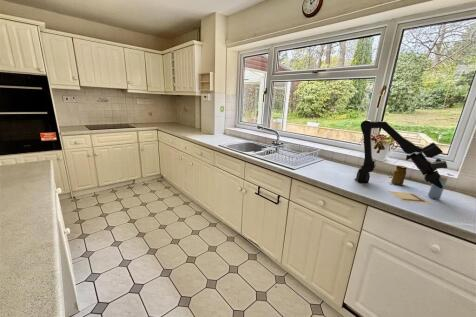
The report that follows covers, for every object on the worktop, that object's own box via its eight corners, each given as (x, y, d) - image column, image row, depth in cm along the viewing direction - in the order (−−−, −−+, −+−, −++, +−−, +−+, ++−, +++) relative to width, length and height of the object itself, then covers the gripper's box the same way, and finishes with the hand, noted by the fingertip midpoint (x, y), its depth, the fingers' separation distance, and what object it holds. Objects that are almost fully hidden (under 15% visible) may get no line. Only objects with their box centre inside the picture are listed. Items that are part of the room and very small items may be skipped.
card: (403, 202, 108) (403, 201, 108) (387, 191, 120) (387, 191, 120) (433, 205, 107) (433, 204, 107) (414, 194, 120) (414, 193, 119)
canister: (435, 199, 111) (443, 178, 108) (425, 194, 116) (432, 174, 112) (442, 198, 112) (450, 178, 109) (432, 194, 117) (439, 174, 114)
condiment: (392, 181, 138) (397, 164, 135) (407, 185, 132) (413, 167, 129) (388, 183, 134) (393, 166, 130) (404, 188, 128) (410, 169, 124)
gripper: (441, 158, 102) (464, 185, 99) (436, 151, 117) (456, 175, 114) (416, 168, 109) (436, 194, 106) (414, 161, 124) (432, 184, 121)
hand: (441, 186), depth 111 cm, fingers closed on canister, 5 cm apart
